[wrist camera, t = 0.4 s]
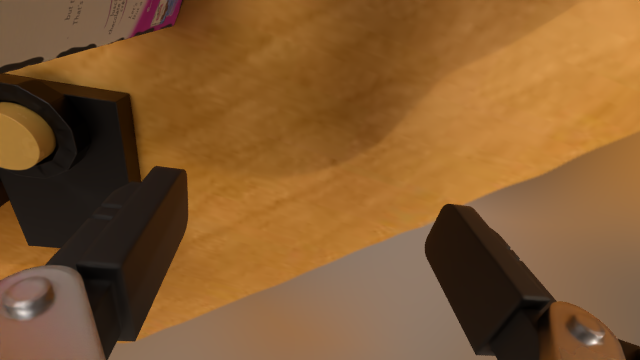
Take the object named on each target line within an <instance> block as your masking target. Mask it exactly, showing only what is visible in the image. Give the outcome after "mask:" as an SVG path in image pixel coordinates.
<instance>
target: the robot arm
mask: <svg viewBox="0 0 640 360" xmlns="http://www.w3.org/2000/svg"><path fill="white" fill-rule="evenodd" d="M187 221H188V191H187V173H186V171H185V170H184V169H176V168H168V167H160V166H155V167H154V168H153V169H152V170H151V171H150V172H149V174H148V175H147V176H146V177H145V179H144V180H143V181H142V182H134V181H131V182H129V183H127V184H126V185H124V186H122V187H120V188H118V189H116V190H114V191H113V192H112V193H111V194H110V195H109V196H108V197H107V198H106V199H105V201H104V202H103V203H102V204H101V207H98V208H97V209H96V210H95V211H94V213H93V214H92V215H91V218H88V219H87V220H86V221H85V222H84V223H83V224H82V226H81V227H80V228H79V229H78V230H77V231H76V232H75V233H74V234H73V235H72V236H71V237H70V239H69V240H68V241H67V242H66V243H65V244H64V245H63V246H62V247H61V248H60V249H59V251H58V252H57V253H56V254H55V255H54V256H53V257H52V258H51V259H50V260H49V261H48V262H47V264H46V265H45V266H39V267H34V268H30V269H26V270H23V271H20V272H17V273H15V274H13V275H10V276H8V277H6V278H4V279H2V280H0V360H108V358H109V356H110V354H111V352H112V350H113V348H114V346H115V344H116V342H117V341H136V338H137V336H138V334H139V332H140V330H141V327H142V325H143V323H144V321H145V319H146V317H147V314H148V312H149V310H150V308H151V306H152V303H153V301H154V299H155V297H156V295H157V293H158V290H159V288H160V286H161V284H162V282H163V279H164V277H165V275H166V273H167V271H168V268H169V266H170V264H171V262H172V260H173V258H174V255H175V253H176V251H177V249H178V247H179V244H180V242H181V240H182V238H183V236H184V233H185V230H186V227H187ZM425 254H426V257H427V260H428V261H429V263H430V265H431V267H432V269H433V271H434V273H435V275H436V277H437V279H438V281H439V283H440V285H441V287H442V289H443V291H444V293H445V295H446V297H447V299H448V301H449V303H450V305H451V307H452V309H453V311H454V313H455V315H456V317H457V319H458V321H459V323H460V324H461V327H462V329H463V330H464V332H465V334H466V336H467V338H468V340H469V342H470V344H471V346H472V348H473V350H474V352H475V354H476V355H491V356H496V358H497V360H640V347H639V346H637V345H634V344H631V343H628V342H625V341H622V340H619V339H617V338H616V336H615V335H614V334H613V333H612V332H611V330H610V329H609V328H608V327H607V326H606V325H605V324H603V323H602V322H601V321H600V320H599V319H597V318H596V317H594V316H593V315H592V314H590V313H589V312H587V311H586V310H584V309H582V308H580V307H578V306H576V305H573V304H570V303H567V302H562V301H558V302H557V301H556V300H555V299H554V298H553V297H552V295H551V294H550V293H549V292H548V291H547V290H546V288H545V287H544V286H543V285H542V284H541V283H540V282H539V280H538V279H537V278H536V277H535V276H534V274H533V273H532V272H531V271H530V270H529V269H528V267H527V266H526V265H525V264H524V263H523V262H522V261H520V260H519V259H520V258H519V257H518V256H517V255H516V254H515V252H514V251H513V250H510V246H509V245H508V244H507V243H506V242H505V241H504V240H503V238H502V237H501V236H500V235H499V234H498V233H496V232H495V231H494V230H493V229H491V228H490V227H489V226H488V225H487V224H486V223H485V222H484V220H483V219H482V218H481V217H480V215H479V214H478V213H477V212H476V211H475V210H474V209H473V208H472V207H470V206H462V205H454V204H446V205H444V206H443V208H442V209H441V211H440V213H439V215H438V217H437V219H436V221H435V223H434V225H433V227H432V229H431V231H430V233H429V235H428V237H427V239H426V242H425Z"/></svg>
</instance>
